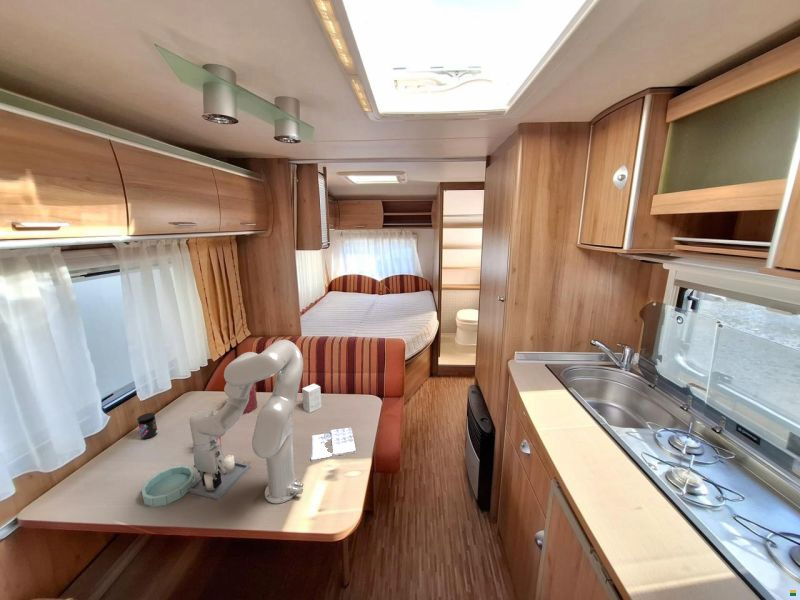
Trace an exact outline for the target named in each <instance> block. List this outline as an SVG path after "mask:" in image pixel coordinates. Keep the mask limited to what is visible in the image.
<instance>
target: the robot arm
mask: <svg viewBox="0 0 800 600" xmlns="http://www.w3.org/2000/svg"><path fill="white" fill-rule="evenodd" d="M303 371H304V359H303V354H302V351H301V350H300V349H299V346H297V345H296V344H295V343H294V342H292V341H291V340H288V339H279V340H277V341H275V342H272V344H271V345H268V347H266V348H265V349H264V350H263V351H261V353H256V352H254V351H248V352H247V351H246V352H244V353H241V355H239V356H238V357H236V358H235V359H233V360H232V361H231V362H229V364H227V365H226V366H225V369H224V372H223V378H224V380H225V382H226V383H225V385H224V388H223V390H224V391H223V392H224V394H225V395H226V396H227V397H228V399H227V401H226V403H225V404H224V406H223V407H222V408H220V409H219V411H218V412H217V413H215V414H214V413H213V411H212V410H210V409H201V410H198V411H195V412H194V413H193V414H192V415H190V417H189V427H190V432H191V437H192V446H193V463H194V465H193V468H194V469H195V470H197V473H199V476H200V477H199V478H201V477H202V483H203V486H206V485H205V479H204V474H205V473H206V472H208V473H212V476H213V487H214V489H216V488H217V487H218V486H219V485H220V484H221V483H222V481H221V475H222V474H224V473H225V472H226V469H225V468H224V466H225V461H224V457H225V456H224V453H223V449H222V446H221V447H220V445H219V444H218V441H217V437H223V436H225V435H226V434H227V433H228V432H229V431H230V430H231V429H232V427H234V425H236V423H237V422H238V421H239V420H240V419H241V417H242V416H243V415H244V414H243V412H244V410H245V408H246V406H247V404H248V401H249V393H250V391H251V389H252V386H253V385H255V383H259V382H260V381H263V380H267V379H269V378H272V377H274V376H276V377H275V379H274V380H275V381H274V385H273V386H274V387H273V390H272V393H271V395H270V397H269V398H268V399H267V400H266V402H265V403H264V404H263V405H262V407H261V408H260V409H259V412H258V414H257V417H256V422H255V425H254V426H255V427H254V430H253V436H252V440H251V446H252V447H251V448H252V450H253V453H254V454H255V455H256V456H257V457H259V458H261V459H265V462H266V474H267V483H268V484H267V486H266V487H265V490H264V497H265V499H266V501H268V503H272V504H282V503H285V502H289V500H291V499H293V498H294V497H295V496H296V495H298V494H299V495H302V493H303V491H304V488H303V487H304V483H301V482H300V481H299V479H298V477H297V476H296V475H295V465H294V463H295V462H294V448H293V447H294V446H293V444H294V443H293V435H294V422H293V419H292V417H291V415H292V414H293V412H294V410H295V408H296V406H297V405H296V404H297V401H298V400H297V399H298V395H299V391H300V384H301V381H302V376H303ZM217 472H218V474H217V475H216V473H217Z"/></svg>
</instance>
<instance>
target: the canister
mask: <svg viewBox="0 0 800 600" xmlns="http://www.w3.org/2000/svg"><path fill="white" fill-rule="evenodd" d="M256 388H257V386H256V385H255V384H253V386H252V389H251V391H250V393H249V401H248V404H247V406H246V408H245V410H244V412H243V414H242V415H244V414H248V413H251V412H252V411H254V410H256V409H257V407H258V400H257V391H256Z"/></svg>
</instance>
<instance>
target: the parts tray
mask: <svg viewBox="0 0 800 600" xmlns="http://www.w3.org/2000/svg"><path fill="white" fill-rule="evenodd" d="M249 469H251V464H248V463H243V462H239V461H235V471H234V472H233V473H232V474H229V475H225V474H222V475H221V481H222V483H221V484H220V485H219V487H218V488H217V489H215V490H213V491H207V490H206V486H203V483H202V477H199V478H198V479H197V480H196V481H195V483H194V484H193V485H192V486H190V487H189V488H188V489H187V490H188V492H187V493H190V494H194V495H199V496H202V497H205V498H206V497H207V498H210V499H214V500H217V501H218V500H219V499H221V497H222V496H223V495H225V494H226V492H227V491H228V490H229V489H231V488H232V486H234V485H235V484H236V483H237V481H239V480H240V479H241V477H243V476H244V474H246V473H247V471H249ZM217 473H218V472H217Z"/></svg>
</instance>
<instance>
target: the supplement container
mask: <svg viewBox="0 0 800 600" xmlns="http://www.w3.org/2000/svg"><path fill="white" fill-rule="evenodd" d="M136 420H137V426H138V432H139V437H140V439H141V440H143V441H145V440H151V439H153V438H154V437H156V436H157V435H158V433H159V432H158V426H157V420H156V414H155V412H148V413H144V414H142V415H140V416H138V417H137V418H136Z"/></svg>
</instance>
